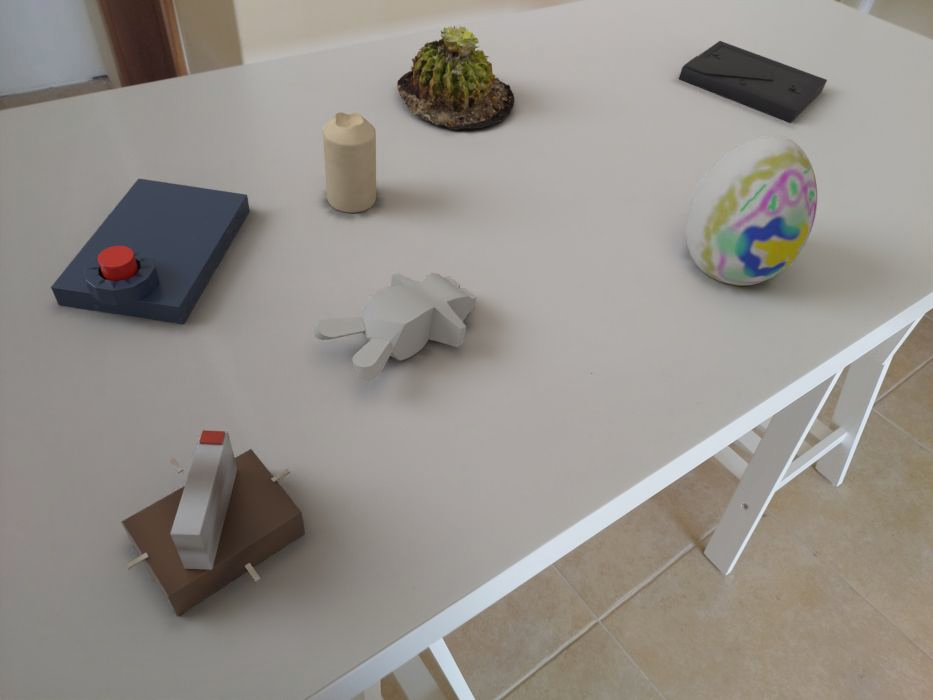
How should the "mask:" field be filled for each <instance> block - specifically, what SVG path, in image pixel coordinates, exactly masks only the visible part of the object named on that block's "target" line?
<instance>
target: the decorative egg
mask: <svg viewBox="0 0 933 700" xmlns="http://www.w3.org/2000/svg"><path fill="white" fill-rule="evenodd" d="M814 171H815V170H814V168H813V166H812V163H811V161H810V159H809V157H808V155H807V153H806V152H805V150H804V149H803V148H802V147H801V146H800V145H799V144H798V143H797V142H795V141H794V140H793V139H790V138H788V137H786V136H782V135H777V134H768V135H767V134H766V135H760V136H757V137H754V138H752V139H749V140H747V141H744V142H742V143H740V144H738V145H736V146H735V147H733V148H732V149H730V150H729V151H728V152H726V153H725V154H724V155H722V156H721V157H720V158H719V159H718V160H717V161H716V162H715V163H714V164H713V165H712V166H711V167H710V168H709V170H708V171H706V173H705V174H704V176H703V177H702V179H701V181H700V182H699V183H698V185H697V187H696V188H695V191H694V192H693V194H692V197H691V199H690V202H689V205H688V208H687V212H686V217H685V230H684V231H685V240H686V245H687V249H688V252H689V254H690V256H691V258H692V261H693V262H694V264H695V265H696V266H697V267H698V268H699V270H701V271H702V272H704V274H706V275H707V276H708V277H710V278H711V279H713V280H716V281H718V282H720V283H723V284H727V285H733V286H737V287H738V286H740V287H743V286H753V285H757V284H761V283H764V282H766V281H768V280H770V279H772V278H774V277H776V276H777V275H778V274H780V273H782V272H783V271H784V270H786V269H787V267H789V265H790V264H792V263H793V261H794V260H795V259H796V258H797V257H798V256H799V254H800V253H801V251H802V250H803V248H804V247H805V245H806V243H807V241H808V239H809V237H810V235H811V232H812V230H813V226H814V223H815V219H816V214H817V209H818V185H817V184H818V183H817V177H816V174H815V172H814Z"/></svg>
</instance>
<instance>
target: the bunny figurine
mask: <svg viewBox="0 0 933 700" xmlns="http://www.w3.org/2000/svg"><path fill="white" fill-rule="evenodd" d="M390 282H391V283H390V285H389V286H387V287H384V288H381V289H379V290H377V291H376V292H374V293H373V294H371V295H370V296H369V298H368V300H367V302H366V304H365V306H364V308H363V310H362V311H361V315H360V316H359V317H339V318H325V319H321V320H319V322H318V323H317V324H316V326H315V328H314V330H313V332H312V333H313V336H314V337H315V338H317V339H318V340H321V341H328V340H335V339H339V338H344V337H348V336H352V335H357V334H363V336H365V337H366V338H367V340H368V341H367V342H366V343H365V344H364V346H363V345H362V347H361V348H360V349H359V350H357V352H355V354H354V355H353V356H352V359H351V361H352V365H353V368H354V371H355V375H357V377H358V378H359V379H362V380H364V381H374V380H376V379H377V378H379V376H380V375H381V373H382V371H383V369H384V368H385V366H386V364H387V362H388V360H389V358H390V357H392V358H394V359H396V360H397V361H400V362H401V361H404V360H407V359H409V358H411V357H413V356H414V355H416V354H418V353H419V352H420V351H421V350H422V349H423V348H424V347H425V345H426V344H427V343H428V342H429V340H430V341H434V342H437V343H442V344H444V345H449V346H451V347H456V348H458V347H459V346H460V345H462V344H463V343H464V340H465V335H466V330H467V325H466V324H465V323H464V321H465V320H466V318H467V317H468V315H469V313H470V312H472V311H473V310H475V306H476V302H477V298H478V297H477V296H476V295H475V294H474V293H473V292H471V291H470V290H468V289H467V288H466V287H463V288H462V287H461V284H460V283H459V282H457V280H455V279H454V278H452V277H451V276H450V275H449V276H446V277H444V276H443V275H441V274H440V273H435V272H430V274H428V275H426V276H425V278H424V279H423V281H422V282H420V281H417V280H415V279H413V278H410V277H408V276H406V275H404V274H401V273H395V274H391V281H390Z"/></svg>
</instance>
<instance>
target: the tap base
mask: <svg viewBox="0 0 933 700" xmlns="http://www.w3.org/2000/svg"><path fill="white" fill-rule="evenodd" d="M235 461H236V465H237V473H236V477H235V481H234V485H233V489H232V493H231V497H230V501H229V505H228V509H227V513H226V517H225V521H224V525H223V529H222V533H221V537H220V541H219V545H218V549H217V553H216V557H215V561H214V565H213V569H212V570H206V569H185V568H184V565H183V563H182V560H181V558H180V556H179V553H178V551H177V548H176V546H175V544H174V541H173V539H172V536H171V534H170V533H171V530H172V527H173V524H174V520H175V517H176V514H177V510H178V507H179V504H180V501H181V497H182V494H183V491H184V488H185V485H184V486H182V487H181V488H178V489H177V490H174V491H173V492H171V493H169V494H168V495H166V496H165V497H162V498H161V499H159V500H157V501H155V502H154V503H152V504H150V505H148V506H146V507H145V508H143V509H141V510H139V511H138V512H136V513H134V514H132V515H130V516H129V517H127V518H125V519H123V520H122V521H121V525H122V527H123V528H124V531H125V532H126V535H127V537H128V539H129V540H130V543H131V544H132V546H133V548H134V549H135V551H136V553H137V554H138V557H136V558H134V559H133V560H131V561H129V562H128V563H126V564H125V566H126V568H127V570H130V569H132V568H134V567H135V566H137V565H139V564H140V563H143V564H144V566H145V567H146V569H147V570H148V572H149V573H150V575H151V577H152V578H153V581H154V582H155V583H156V585H157V587H158V588H159V590H160V591H161V593H162V595H163V596H164V598H165V600H166V601H167V603H168V604H169V606H170V608H171V609H172V611H173V613H174V614H175V616H176V617H179V616H180V615H182V614H183V613H185V612H187V611H188V610H190V609H191V608H192V607H194V606H196V605H197V604H199V603H200V602H202V601H204V600H205V599H206V598H208V597H209V596H212V594H214V593H216V592H217V591H219V590H220V589H222V588H223V587H225V586H226V585H228V584H230V583H231V582H232V581H234V580H236V579H237V578H239V577H241V576H242V575H243V574H245V573H247V572H248V573H249V575H250V576H251V578H252V579H253V580H254V582H255V583H257V582H258V581H260V580H261V577H260V575H259V574H258V573H257V571H256V569H255V568H254V567H256V566H257V565H259V564H260V563H262V562H263V561H265V560H266V559H268V558H269V557H271V556H272V555H274V554H276V553H277V552H279V551H280V550H282V549H283V548H285V547H287V546H288V545H289V544H291V543H293V542H294V541H296V540H298V539H299V538H300V537H303V535H305V534H306V532H305V525H304V518H303V512H302V511H301V509H300V508H299V506H298V505H297V504H296V503H295V502H294V500H293V499H292V498H291V497H290V495H289V494H288V493H287V492H286V491H285V489H284V488H283V486H282V485H281V484H280V483H279V482H278V481H279V480H281V479H282V478H284V477H286V476H288V475H289V474H291V471H290V470H289V468H286V469H285V470H283V471H281V472H279V473H277V474H276V475H273V474H272V473H271V471H269V469H268V468H267V467H266V465H265V464H264V463H263V462H262V460H261V459H260V458H259V457H258V455H257V454H256V453H255V452H254V450H253V449H252V448H250V449H248V450H246V451H245V452H243V453H241V454H239V455H238V456H236V457H235ZM169 462H170V463H171V464H172V466H173V467H174V469H175V471H177V473H178V474H180V473H182V472H184V469H183V467H182V466H181V464H179V462H178V460H177V459H176V457H172V458H170V459H169Z"/></svg>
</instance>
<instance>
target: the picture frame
mask: <svg viewBox="0 0 933 700" xmlns="http://www.w3.org/2000/svg"><path fill="white" fill-rule="evenodd" d="M678 79H679V80H681V81H683V82H685V83H688V84H690V85H693V86H695V87H698V88H701V89H703V90H706V91H708V92H711V93H712V94H713V93H714V94H716V95H719V96H721V97H724V98H727V99H729V100H732V101H734V102H737V103H738V104H742V105H744V106H747V107H749V108H752V109H754V110H757V111H759V112H762V113H763V114H767V115H769V116H772V117H774V118H777V119H779V120H782V121H785V122H787V123H791V124H792V122H793V121H795V119H797V117H798V116H799V115H801V113H803V111H805V109H806V108H807V107H808V106H809V105H811V103H812V102H814V100H816V98H818V96H819V95H820V94H821V93H822V92H823V91H824V88H825V86H826V84H827V82H828V79H826V78H823V77H821V76H818V75H815V74H812V73H809V72H808V71H807V72H806V71H804V70H801V69H799V68H796V67H793V66H791V65H788V64H786V63H785V64H784V63H782V62H780V61H777V60H774V59H771V58H769V57H766V56H763V55H760V54H758V53H755V52H752V51H749V50H747V49H744V48H741V47H738V46H736V45H734V44H730V43H727V42H724V41H722V40H719V41H717V42H716V43H714V44H713V45H712V46H710V47H709V48H707V49H706V50H704V51H703V52H702V53H700V54H699V55H695V57H693V58H691V59H690V60H688V62H686V63H685V64H684V65H683V66H682V67H681V71H680V74H679V77H678Z"/></svg>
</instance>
